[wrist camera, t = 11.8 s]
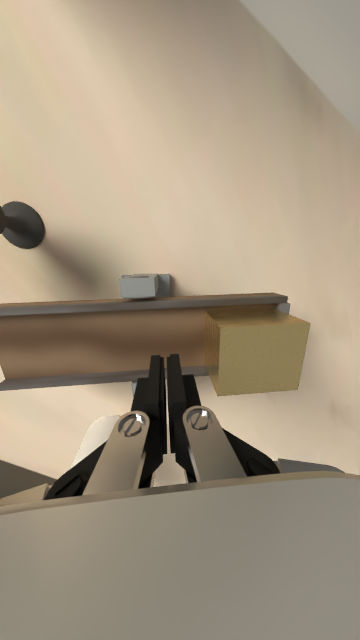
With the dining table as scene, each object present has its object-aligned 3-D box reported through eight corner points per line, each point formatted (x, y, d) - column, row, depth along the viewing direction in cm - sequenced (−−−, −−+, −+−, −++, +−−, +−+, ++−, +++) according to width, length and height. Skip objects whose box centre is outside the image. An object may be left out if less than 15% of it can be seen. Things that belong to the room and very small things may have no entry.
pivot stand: (123, 273, 24) (101, 278, 16) (169, 272, 24) (171, 276, 16) (132, 358, 28) (119, 398, 19) (172, 356, 28) (175, 394, 20)
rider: (205, 311, 18) (220, 327, 13) (272, 308, 19) (310, 323, 14) (204, 364, 20) (217, 396, 15) (266, 360, 21) (297, 389, 16)
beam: (18, 298, 21) (-38, 311, 15) (259, 289, 23) (291, 297, 17) (36, 361, 23) (-6, 394, 17) (253, 348, 25) (279, 372, 19)
